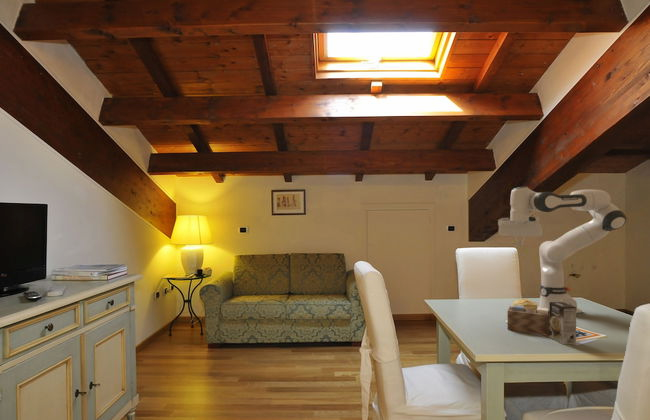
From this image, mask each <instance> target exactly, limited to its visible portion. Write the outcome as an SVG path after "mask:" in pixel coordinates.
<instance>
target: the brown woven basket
mask: <svg viewBox="0 0 650 420" xmlns="http://www.w3.org/2000/svg"><path fill="white" fill-rule="evenodd" d="M507 330H508V331H515V332H523V333H530V334H535V335H536V334H537V335H543V334H547V335H546V336H550V314H549V311H548V314H541V313H537V309H530V308H524V312H523V311H515V310H513V307H512V305H511V306H509V307H508V310H507Z"/></svg>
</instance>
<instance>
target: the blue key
mask: <svg viewBox="0 0 650 420" xmlns="http://www.w3.org/2000/svg"><path fill="white" fill-rule="evenodd" d="M513 310H515V311H523V312H524V306H520V305H514V307H513Z"/></svg>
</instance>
